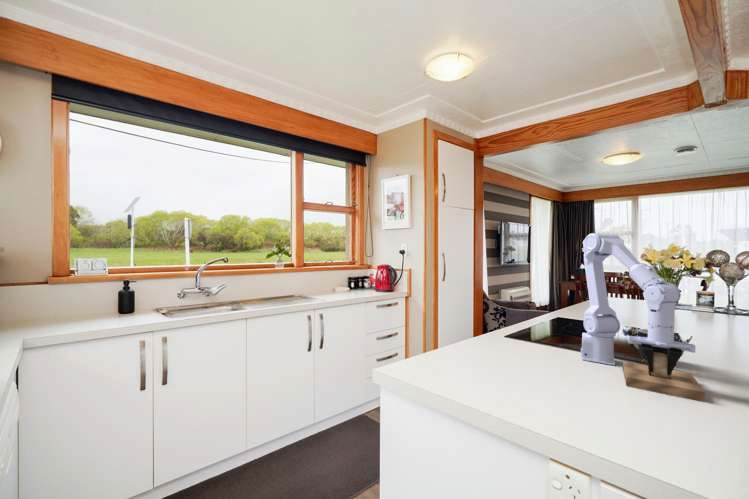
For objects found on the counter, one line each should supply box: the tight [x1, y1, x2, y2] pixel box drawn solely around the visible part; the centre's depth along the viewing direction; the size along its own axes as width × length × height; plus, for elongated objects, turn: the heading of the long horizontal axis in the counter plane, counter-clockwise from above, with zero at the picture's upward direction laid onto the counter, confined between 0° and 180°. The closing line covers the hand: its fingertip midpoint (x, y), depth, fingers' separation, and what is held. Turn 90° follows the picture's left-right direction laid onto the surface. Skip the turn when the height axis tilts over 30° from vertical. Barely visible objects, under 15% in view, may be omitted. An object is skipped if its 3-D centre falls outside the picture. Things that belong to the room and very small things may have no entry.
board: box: [622, 361, 706, 403], centre depth 95 cm, size 16×16×2 cm
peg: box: [651, 353, 668, 379], centre depth 96 cm, size 4×4×8 cm
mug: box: [629, 328, 668, 360], centre depth 117 cm, size 12×9×10 cm
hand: (659, 372), depth 95 cm, fingers closed on peg, 3 cm apart
